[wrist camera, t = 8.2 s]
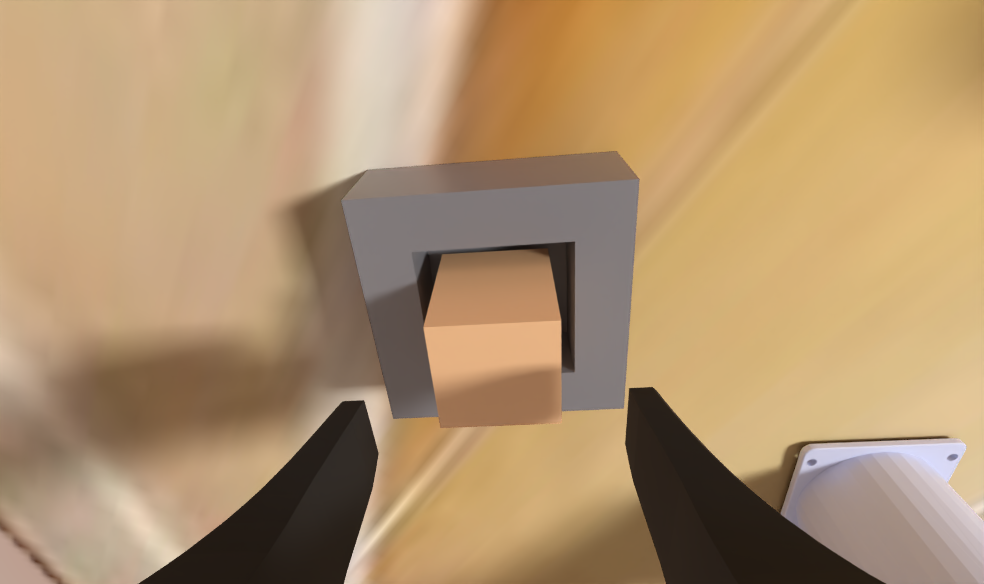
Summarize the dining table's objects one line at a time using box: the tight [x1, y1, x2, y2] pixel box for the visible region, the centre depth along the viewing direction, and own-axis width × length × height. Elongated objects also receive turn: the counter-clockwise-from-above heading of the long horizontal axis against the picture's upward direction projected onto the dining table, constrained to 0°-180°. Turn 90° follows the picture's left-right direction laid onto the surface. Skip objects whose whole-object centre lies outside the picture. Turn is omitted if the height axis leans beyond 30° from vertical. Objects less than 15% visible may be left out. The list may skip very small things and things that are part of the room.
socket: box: [341, 151, 639, 419], centre depth 20 cm, size 10×10×4 cm
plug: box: [423, 248, 562, 428], centre depth 18 cm, size 4×4×6 cm
